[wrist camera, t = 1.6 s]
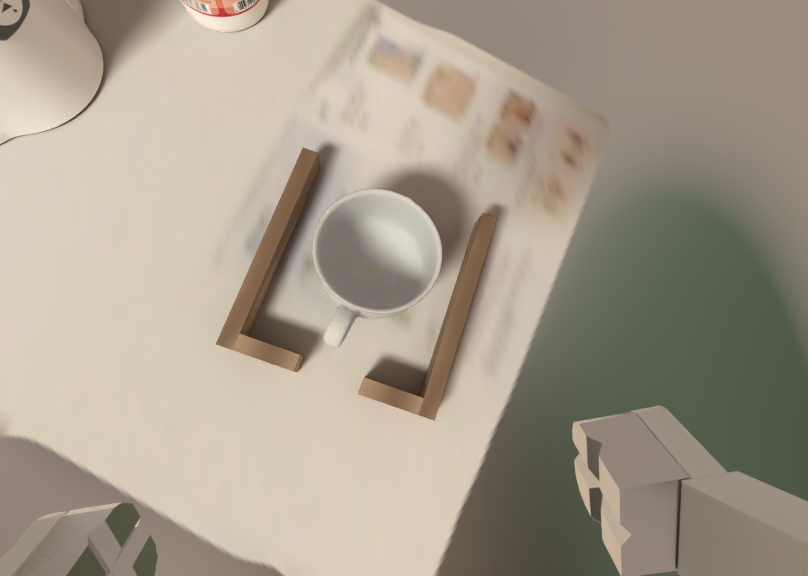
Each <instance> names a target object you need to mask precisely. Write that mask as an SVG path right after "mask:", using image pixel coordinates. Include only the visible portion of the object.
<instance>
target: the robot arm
mask: <svg viewBox="0 0 808 576" xmlns="http://www.w3.org/2000/svg"><path fill="white" fill-rule="evenodd" d="M102 75H103V56H102V52H101V49H100V46H99V44H98V42H97V40H96V39H95V37H94V36H93V34H92V33H91V32H90V30H89V29H88V27H87V26H86V24H85V22H84V15H83V9H82V5H81V3H80V1H79V0H0V144H1V143H3V142H5V141H7V140H9V139H10V138H13V137H16V136H21V135H27V134H33V133H38V132H42V131H46V130H49V129H52V128H54V127H57V126H59V125H61V124H63V123H65V122H67V121H68V120H70V119H71V118H73V117H74V116H76V115H77V114H78V113H79V112H81V111H82V110H83V109H84V108H85V107H86V106H87V105H88V103H89V102H90V101H91V100H92V98H93V97H94V95H95V94H96V92H97V90H98V88H99V85H100V83H101V79H102ZM572 431H573V442H574V443H575V445H576V447H577V449H578V451H579V452H580V453H579V455H578V456H577V458H576V459H575V460H574V461H575V471H576V478H577V482H578V486H579V490H580V493H581V496H582V498H583V501H584V503H585V506H586V507H587V510H588V512H589V514H590V516H591V517H592V518H594V519H595V520H597V521H598V522H600V523H601V524H602V540H603V542H604V544H605V546H606V548H607V550H608V552H609V553H610V555H611V557H612V559H613V561H614V563H615V565H616V567H617V569H618V571H619V573H620V575H621V576H639V575H646V574H654V573H661V572H668V571H676V570H678V574H679V575H680V576H808V502H807V501H805V500H802V499H800V498H798V497H796V496H793V495H791V494H789V493H786V492H784V491H782V490H779V489H777V488H775V487H773V486H770V485H768V484H766V483H763V482H761V481H759V480H757V479H754V478H752V477H750V476H747V475H745V474H743V473H740V472H738V471H736V472H730V473H728V472H726V470H725V469H724V468H723V467H722V466H721V465H720V464H719V463H718V462H717V461H716V460H715V459H714V458H713V457H712V456H711V455H710V454H709V453H708V452H707V451H706V450H705V448H704V447H703V446H702V445H701V444H700V443H699V442H698V441H697V440H696V439H695V438H694V437H693V436H692V435H691V434H690V433H689V432H688V431H687V430H686V429H685V428H684V427H683V426H682V425H681V423H679V421H678V420H677V419H676V418H674V416H673V415H672V414H671V413H670V412H669V411H668V410H667V409H666V408H664V407H662V406H655V407H650V408H645V409H639V410H634V411H631V412H627V413H622V414H616V415H611V416H605V417H601V418H594V419H589V420H584V421H578V422H574V423H573V429H572ZM139 520H140V515H139V513H138V512H137V510H136V508H135V507H134V505H133V504H131V503H125V502H121V503H115V504H108V505H101V506H95V507H88V508H82V509H76V510H72V511H66V512H59V513H53V514H47V515H45V516H43V517H41V518H39V519H37V520H35V521H34V522H33V524H32V525H31V526H30V527H29V528H28V529H27V530H26V532H25V533H24V534H23V535H22V536H21V537H20V538H19V539H18V541H17V542H16V543H15V544H14V545H13V547H11V549H10V550H9V551H8V552H7V553H6V554H5V555H4V557H3V558H2V559H1V560H0V576H154V575H155V570H156V563H157V551H156V545H155V543H154V541H153V539H152V537H151V535H150V534H149V533H147V532H145V531H144V530H142V529H140V528H139V527H138V524H139Z"/></svg>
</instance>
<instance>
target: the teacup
mask: <svg viewBox="0 0 808 576" xmlns="http://www.w3.org/2000/svg"><path fill="white" fill-rule="evenodd" d="M312 253H313V260H314V265H315V268H316V271H317V274H318V277H319V280H320V283H321V285H322V287H323V289H324V291H325V292H326V294H327V295H328V297H329V298H330V299H331V300H332V301H333V302H334V303H335V304H336V305H337V306H339V307H338V308H337V310H336V312H335V313H334V315H333V317H332V319H331V321H330V323H329V324H328V327H327V329H326V331H325V333H324V337H323V340H324V342H325V343H326V344H328V345H330V346H332V347H339V346H340V345H341V344H342V342H343V340H344V339H345V337H346V335H347V333H348V331H349V330H350V328H351V326H352V324H353V322H354V320H355V319H356V317H362V318H368V319H380V318H387V317H391V316H394V315H396V314H399V313H401V312H403V311H404V310H406V309H408V308H409V307H411V306H413V305H415V304H416V303H418V302H419V301H420V300H422V299H423V297H424V296H426V295H427V293H428V292H429V291H430V290H431V288H432V287H433V285H434V284H435V282H436V280H437V278H438V275H439V273H440V269H441V264H442V244H441V240H440V236H439V233H438V230H437V228H436V226H435V224H434V223H433V221H432V220H431V218H430V217H429V215H428V214H427V213H426V212H425V211H424V210H423V209H422V208H421V207H420V206H419V205H418V204H417V203H415V202H414V201H413V200H411V199H410V198H408V197H406V196H404V195H402V194H399V193H397V192H394V191H390V190H385V189H365V190H360V191H356V192H353V193H350V194H348V195H346V196H344V197H342V198H340V199H339V200H337V201H336V202H335V203H333V204H332V205H331V206H330V207H329V208H328V209H327V211H326V212H325V213H324V214H323V216H322V217H321V218H320V220H319V223H318V224H317V227H316V230H315V233H314V237H313V243H312Z"/></svg>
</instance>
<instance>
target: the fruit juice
mask: <svg viewBox="0 0 808 576" xmlns="http://www.w3.org/2000/svg"><path fill="white" fill-rule="evenodd" d="M181 2H182V4H183V6H184V7H185V9H186V11H187V12H188V13H189V15H190V16H191V17H192V18H193V19H194V20H195V21H197V22H198V23H199V24H201V25H202V26H204V27H206V28H209V29H211V30H215V31H219V32H236V31H240V30H244V29H246V28H249V27H251V26H252V25H254V24H255V23H257V22H258V21H259V20H260V19H261V18H262V17H263V15H264V14H265V12H266V10H267V7H268V4H269V0H181Z"/></svg>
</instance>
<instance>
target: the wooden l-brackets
mask: <svg viewBox="0 0 808 576" xmlns="http://www.w3.org/2000/svg"><path fill="white" fill-rule="evenodd" d="M319 169H320V164H319V158H318V153H317V152H314V151H311V150H309V149H306V148H303V149H302V151H301V153H300V155H299V158H298V160H297V162H296V164H295V167H294V169H293V171H292V173H291V176H290V178H289V180H288V182H287V185H286V187H285V189H284V191H283V194H282V196H281V198H280V200H279V203H278V205H277V207H276V210H275V212H274V214H273V216H272V219H271V221H270V223H269V225H268V228H267V230H266V232H265V234H264V237H263V239H262V241H261V243H260V246H259V248H258V250H257V252H256V255H255V257H254V259H253V261H252V264H251V266H250V268H249V271H248V273H247V275H246V277H245V280H244V282H243V284H242V286H241V289H240V291H239V293H238V295H237V298H236V300H235V302H234V304H233V307H232V309H231V311H230V313H229V316H228V318H227V320H226V322H225V325H224V327H223V329H222V331H221V334H220V336H219V338H218V341H217V343H216V344H217V345H220V346H223V347H225V348H228V349H231V350H234V351H237V352H240V353H243V354H246V355H248V356H251V357H254V358H257V359H260V360H263V361H266V362H268V363H271V364H274V365H277V366H280V367H283V368H286V369H288V370H291V371H294V372H298V370H299V367H300V364H301V362H302V359H303V356H301V355H299V354H296V353H294V352H291V351H288V350H285V349H282V348H279V347H277V346H274V345H271V344H268V343H265V342H262V341H259V340H257V339H254V338H251V337H248V335H249V333H250V330H251V328H252V326H253V323H254V321H255V319H256V316H257V314H258V312H259V309H260V307H261V305H262V302H263V300H264V298H265V295H266V293H267V291H268V288H269V286H270V284H271V281H272V279H273V276H274V274H275V272H276V269H277V267H278V265H279V262H280V260H281V258H282V255H283V253H284V251H285V248H286V246H287V244H288V241H289V239H290V237H291V234H292V232H293V230H294V227H295V225H296V223H297V220H298V218H299V216H300V213H301V211H302V209H303V206H304V204H305V202H306V199H307V197H308V195H309V192H310V190H311V187H312V185H313V183H314V180H315V178H316V176H317V173H318V171H319ZM496 221H497V218H494V217H492V216H489V215H486V214H484V213H483V214H482V215H481V216H480V218H479V219H478V220H477V222H476V223H475V225H474V228H473V231H472V234H471V237H470V241H469V244H468V247H467V250H466V253H465V256H464V259H463V262H462V265H461V269H460V272H459V275H458V278H457V281H456V284H455V287H454V290H453V293H452V297H451V300H450V303H449V306H448V309H447V312H446V315H445V318H444V321H443V324H442V328H441V331H440V334H439V337H438V340H437V343H436V346H435V349H434V352H433V356H432V359H431V362H430V365H429V368H428V371H427V374H426V377H425V380H424V384H423V387H422V390H421V393H420V396H416V395H413V394H410V393H408V392H405V391H402V390H399V389H396V388H393V387H390V386H388V385H385V384H382V383H379V382H376V381H373V380H370V379H368V378H364V380H363V382H362V385H361V388H360V391H359V394H360V395H363V396H366V397H368V398H371V399H374V400H377V401H380V402H383V403H386V404H388V405H391V406H394V407H397V408H400V409H403V410H406V411H408V412H411V413H414V414H417V415H420V416H423V417H426V418H428V419H431V420H434V421H435V418H436V414H437V411H438V408H439V405H440V402H441V398H442V395H443V392H444V389H445V385H446V382H447V379H448V376H449V373H450V369H451V366H452V363H453V360H454V356H455V353H456V350H457V347H458V343H459V340H460V337H461V334H462V331H463V327H464V324H465V321H466V318H467V314H468V311H469V308H470V305H471V301H472V298H473V295H474V292H475V289H476V285H477V282H478V279H479V276H480V272H481V269H482V266H483V263H484V259H485V256H486V253H487V250H488V247H489V243H490V240H491V237H492V234H493V230H494V227H495V224H496Z"/></svg>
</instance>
